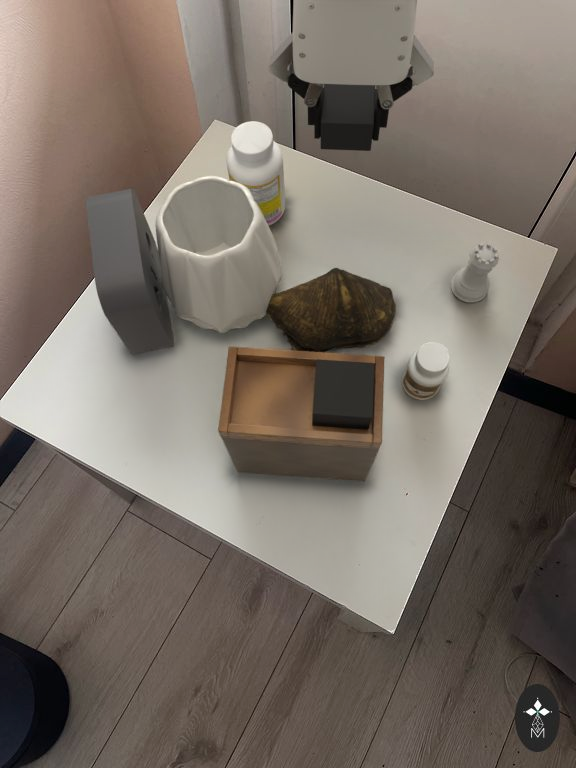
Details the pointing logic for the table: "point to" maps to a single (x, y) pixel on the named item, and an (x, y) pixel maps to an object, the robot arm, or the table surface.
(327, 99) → the black cube
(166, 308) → the streaming box
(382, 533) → the table surface
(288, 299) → the seashell
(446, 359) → the pill bottle
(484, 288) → the rook chess piece
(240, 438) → the box
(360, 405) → the black square block
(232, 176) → the supplement bottle
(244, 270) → the vase
